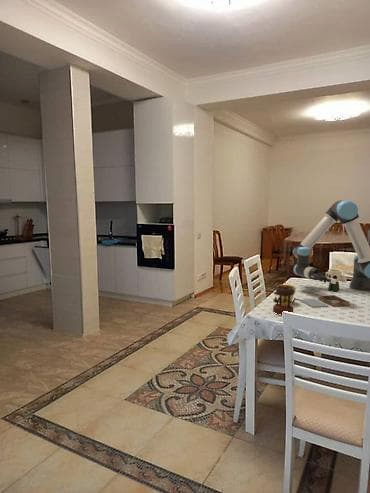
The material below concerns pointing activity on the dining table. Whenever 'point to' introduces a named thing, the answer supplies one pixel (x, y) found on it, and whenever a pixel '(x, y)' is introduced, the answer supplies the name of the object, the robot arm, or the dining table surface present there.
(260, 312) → the dining table surface
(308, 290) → the dining table surface
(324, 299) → the brown rectangular slab
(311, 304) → the slate coaster
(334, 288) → the character mug
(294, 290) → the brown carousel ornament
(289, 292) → the music box
